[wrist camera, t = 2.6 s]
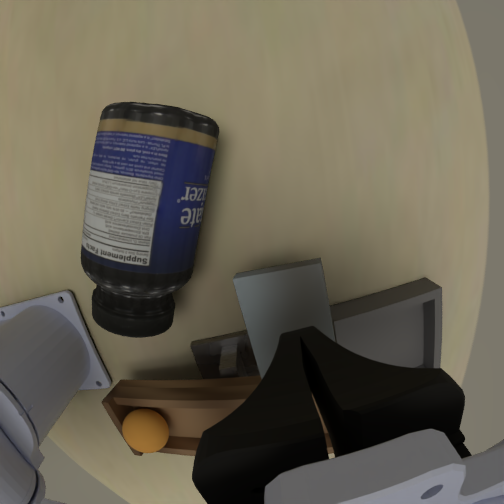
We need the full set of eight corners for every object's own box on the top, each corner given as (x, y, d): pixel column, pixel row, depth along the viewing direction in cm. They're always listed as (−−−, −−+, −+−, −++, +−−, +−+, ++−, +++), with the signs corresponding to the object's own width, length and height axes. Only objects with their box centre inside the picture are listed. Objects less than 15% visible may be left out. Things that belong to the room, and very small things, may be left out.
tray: (338, 394, 22) (346, 412, 20) (325, 307, 20) (333, 321, 18) (426, 364, 21) (439, 378, 19) (425, 277, 20) (441, 287, 18)
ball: (145, 430, 19) (127, 459, 16) (127, 398, 18) (106, 427, 15) (182, 432, 18) (166, 464, 15) (165, 399, 18) (145, 431, 15)
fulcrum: (221, 417, 22) (218, 447, 19) (191, 341, 20) (183, 368, 17) (286, 405, 22) (291, 435, 19) (265, 326, 20) (268, 351, 17)
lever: (149, 431, 20) (134, 454, 18) (85, 298, 18) (59, 316, 15) (346, 427, 17) (347, 459, 14) (320, 257, 14) (321, 277, 12)
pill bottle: (226, 130, 18) (193, 307, 20) (129, 117, 17) (106, 287, 20) (212, 107, 12) (171, 358, 14) (80, 96, 11) (59, 325, 14)
